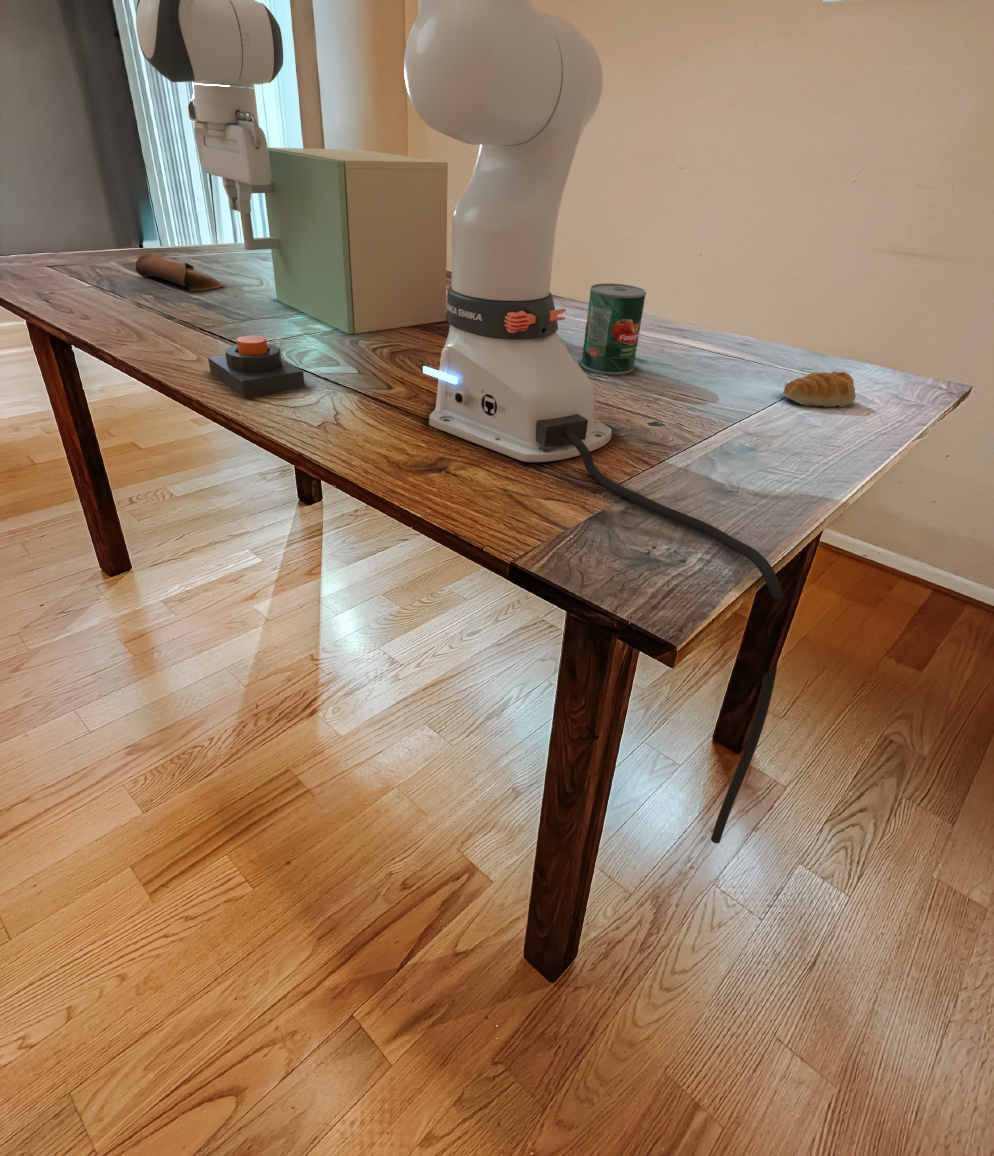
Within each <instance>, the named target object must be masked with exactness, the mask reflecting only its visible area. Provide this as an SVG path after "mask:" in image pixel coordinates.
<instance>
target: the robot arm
mask: <svg viewBox="0 0 994 1156" xmlns="http://www.w3.org/2000/svg"><path fill="white" fill-rule="evenodd" d="M416 16H417V17H416V19H415V20H414V22H413V24H412V26H411V29H410V31H409V33H408V34H409V35H408V36H407V40H406V44H405V49H404V58H403V73H404V74H403V75H404V81H405V87H406V91H407V94H408V97H409V100H410V102H411V106H412V107H413V109H414V111H415V112H416V114H417V115H418V116H419V118H420V119H421V120H422V121H423V122H424V123H425V124H426V125H427V126H428V127H430V128H431V129H432V130H434V131H437V132H439V134H442V135H445V136H446V137H449V138H452V139H454V140H456V141H458V142H461V143H463V144H468V145H472V146H475V145H476V146H477V145H479V151H478V155H477V158H476V163H475V165H474V169H473V172H472V175H471V177H470V181H469V183H468V185H467V187H466V188H465V190H464V192H463V193H462V194H461V196H460V197H459V199H458V201H457V202H456V204H455V207H454V209H453V214H452V228H451V229H452V230H451V231H452V232H451V233H452V234H451V281H450V282H451V283H450V284H451V285H450V286H448V289H447V294H446V321H447V323H448V324H449V329H448V334H447V336H446V337H447V338H446V340H445V344H444V346H443V347H442V350H441V354H440V362H439V370H437V369H434V368H432V367H429V366H426V365H424V366H422V373H423V374H426V375H428V376H430V377H433V378H436V379H438V380H437V388H436V389H437V390H436V399H435V401H436V402H435V408H434V410H432V412H431V413H430V414H429V416H428V417H429V419H428V425H429V427H432V428H434V429H437V430H439V431H441V432H442V431H443V432H445V433H448V434H450V435H452V436H455V437H458V438H460V439H463V440H466V441H468V442H471V443H473V444H475V445H476V444H477V445H479V446H481V447H484V448H486V449H489V450H492V451H494V452H496V453H499V454H502V455H505V456H507V457H510V458H512V459H516V460H517V461H521V462H523V463H524V462H525V463H547V462H554V461H556V462H557V461H561V460H566V459H570V458H574V457H577V456H578V457H579V456H581V459H582V461H583V464H584V467H585V469H586V470H587V472H588V473H589V474H590V476H591V477H592V478H593V479H594V481H595V482H597V483H598V484H599V485H600V486H602V487H603V488H605V489H606V490H608V491H609V492H611V493H613V494H614V495H617V496H619V497H621V498H624V499H626V500H628V501H630V502H633V503H635V504H637V505H638V506H641V507H643V508H644V509H647V510H648V511H651V512H652V513H655V514H657V515H659V516H662V517H663V518H666V519H669V520H672V521H673V522H676V523H678V524H681V525H683V526H686V527H689V528H691V529H693V530H695V531H698V532H700V533H702V534H704V535H706V536H708V537H709V538H712V539H714V540H715V541H716V542H718V543H720V544H722V546H725V547H727V548H728V549H730V550H732V551H734V552H736V553H738V554H739V555H741V556H743V557H745V558H746V559H748V560H749V561H751V563H752V564H754V565H755V566H756V568H757V570H758V571H759V572H760V574H761V576H762V578H763V580H764V582H765V584H766V587H767V589H768V592H769V595H770V596H771V597H772V598H774V599H775V600H779V601H781V600H784V593H783V589H782V586H781V584H780V581H779V579H778V577H777V575H776V573H775V570H774V569H773V567H772V566H771V564H770V563H769V561H768V560H767V559H766V558H765V557H764V556H763V555H762V554H761V553H760V552H759V551H757V550H756V549H755V548H753V546H752V547H751V546H750V545H748V544H746V543H744V542H742V541H740V540H738V539H737V538H735V537H733V536H731V535H729V534H728V533H726V532H725V531H722V530H721V529H720V528H718V527H715V526H713V525H712V524H709V523H707V522H706V521H703V520H701V519H699V518H696V517H693V516H691V515H688V514H686V513H684V512H681V511H678V510H675V509H673V508H670V507H668V506H666V505H663V504H661V503H659V502H657V501H654V500H653V499H650V498H648V497H646V496H644V495H642V494H641V493H638V492H636V491H633V490H632V489H629V488H627V487H624V486H622V485H619V484H617V483H616V482H614V481H612V480H610V479H609V478H607V477H606V476H605V475H604V474H603V472H601V471H600V470H599V469H598V468H597V466H596V464H595V462H594V460H593V457H592V456H593V455H592V454H591V452H593V451H596V450H598V449H600V448H601V447H604V446H606V444H608V443H609V442H610V441H611V439H612V435H613V434H612V431H613V429H612V428H610V427H609V426H608V425H607V424H605V423H603V422H602V421H600V420H598V419H597V418H595V390H594V385H593V383H592V381H591V379H590V378H589V377H588V375H587V374H586V372H585V371H584V370H583V368H582V366H581V365H580V364H579V363H578V362H577V360H576V359H575V357H574V356H573V354H572V353H571V351H570V350H569V349H568V347H567V346H566V344H565V343H564V341H563V340H562V338H561V337H560V336H559V334H558V330H559V325H558V322H559V321H563V320H564V321H565V320H566V317H565V316H558V315H562V314H564V313H566V312H567V309H566V308H559V309H556V308H555V307H556V306H555V301H554V297H553V294H552V292H551V280H552V272H553V271H552V269H553V259H554V252H555V251H554V249H555V241H556V232H557V224H558V219H559V212H560V208H561V203H562V200H563V195H564V192H565V188H566V185H567V181H568V178H569V175H570V171H571V168H572V166H573V165H572V164H573V161H574V159H575V155H576V152H577V148H578V145H579V142H580V140H581V137H582V134H583V132H584V130H585V128H586V127H587V125H588V124H589V122H590V121H591V119H592V118H593V116H594V115H595V113H596V111H597V109H598V106H599V104H600V101H601V96H602V92H603V85H604V84H603V81H604V79H603V76H604V75H603V69H602V63H601V60H600V57H599V55H598V52H597V50H596V48H595V47H594V45H593V44H592V42H591V41H589V39H588V38H587V37H586V36H585V35H584V34H583V33H582V32H581V31H580V30H579V29H578V28H577V27H576V26H575V25H574V24H573V23H571V22H570V21H569V20H567V19H565V18H563V17H561V16H557V15H554V14H550V13H547V12H544V11H540V10H537V9H535V7H534V6H533V4H532V2H531V1H530V0H417V15H416ZM135 28H136V29H135V30H136V36H137V40H138V44H139V48H140V51H141V54H142V55H143V57H144V59H145V60H146V61H147V62H148V63H149V64H150V65H151V66H152V68H154V69H155V70H156V71H157V72H158V73H159V74H160V75H161V76H163V77H164V78H165V79H166V80H168V81H169V82H170V83H192V91H193V94H192V97H191V99H190V100H189V101H188V104H187V106H186V109H187V115H188V118H189V120H190V121H193V132H194V133H193V134H194V139H195V145H196V150H197V154H198V159H199V162H200V165H201V168H202V170H203V171H204V173H205V174H208V175H211V176H215V177H218V178H221V181H222V186H223V188H224V191H225V194H226V196H227V199H228V204H229V205H228V206H229V209H230V210H232V211H235V212H239V213H240V212H241V213H252V205H251V199H252V194H253V193H252V185H269V184H270V183H271V179H272V171H271V164H270V158H269V152H268V148H269V147H268V142H267V137H266V135H265V132H264V130H263V129H262V128H261V127H260V124H259V114H258V109H257V108H258V106H257V99H256V89H255V85H259V86H260V85H264V84H271V83H272V82H273V81H274V80H275V79H276V78H277V76H278V75H279V73H280V71H281V70H282V68H283V66H284V45H283V44H284V43H283V37H282V36H283V35H282V30H281V26H280V25H279V23H278V21H277V19H276V18H275V16H274V14H273V13H272V12H271V10H270V9H269V8H268V7H267V6H266V5H265V4H264V3H263V2H259V1H257V0H137V3H136V8H135ZM237 189H238V192H237ZM777 670H778V666H776V667H774V668H773V669H771V670H770V671H769V672H766V674H765V675H763V677H762V682H761V688H760V692H759V697H758V701H757V705H756V709H755V713H754V716H753V720H752V724H751V727H750V730H749V733H748V737H747V739H746V742H745V745H744V748H743V750H742V754H741V756H740V759H739V762H738V763H737V766H736V769H735V772H734V774H733V777H732V779H731V782H730V784H729V786H728V789H727V791H726V795H725V797H724V798H723V802H722V805H721V807H720V810H719V813H718V816H717V818H716V821H715V823H714V827H713V830H712V834H711V837H710V841H711V842H712V843H714V844H720V842H721V840H722V837H723V834H724V830H725V828H726V824H727V822H728V819H729V817H730V814H731V812H732V810H733V807H734V805H735V801H736V799H737V796H738V794H739V791H740V789H741V788H742V784H743V783H744V778H745V777H746V774H747V773H748V769H749V767H750V765H751V762H752V759H753V757H754V754H755V753H756V748H757V746H758V743H759V740H760V737H761V735H762V732H763V729H764V726H765V722H766V718H767V716H768V712H769V708H770V704H771V701H772V695H773V691H774V686H775V681H776V678H777Z"/></svg>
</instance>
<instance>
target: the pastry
mask: <svg viewBox="0 0 994 1156" xmlns="http://www.w3.org/2000/svg"><path fill="white" fill-rule="evenodd" d="M781 395H782V396H784V397H785V398H787V399H789V400H791V401H792V402H793V401H794V402H795V403H798V404H800V405H801V406H806V407H809V406H814V407H827V408H831V407H833V408H835V407H836V406H839V407H841V408H843V407H847V406H850V404H851V403H853V402H854V401H856V397H857V394H856V387H855V385H854V378H853V377H852V375H851V374H849V373H847V372H845V371H836V370H833V371H832V372H826V371H822V372H811V373H808V374H807V375H805V376H803V377H798V378H795V379H793V380H791V381H789V382H788V383H786V384H785V385H784V389H783V391H782V394H781Z"/></svg>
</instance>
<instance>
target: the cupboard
mask: <svg viewBox="0 0 994 1156" xmlns="http://www.w3.org/2000/svg"><path fill="white" fill-rule="evenodd" d="M268 149H271V150H277V151H283V152H289V153H295V154H301V155H306V156H312V157H318V158H324V159H330V160H336V161H342V162H344V178H345V195H346V212H347V229H348V246H349V263H350V280H351V297H352V314H353V331H354V333H353V334H360V333H368V332H376V331H381V330H382V331H383V330H390V329H397V328H403V327H411V326H417V325H425V324H432V323H439V322H446V321H447V308H446V300H447V249H448V248H447V247H448V246H447V244H448V241H447V240H448V178H449V177H448V176H449V175H448V171H449V162H447V161H442V160H435V159H427V158H421V157H420V158H419V157H414V156H407V155H398V154H392V153H386V152H378V151H371V150H365V149H344V148H343V149H340V148H338V149H337V148H301V147H297V148H296V147H268Z"/></svg>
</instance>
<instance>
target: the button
mask: <svg viewBox="0 0 994 1156" xmlns="http://www.w3.org/2000/svg"><path fill="white" fill-rule="evenodd" d="M267 344H268V341H267V338H266V336H262V335H255V334H254V335H243V336H239V337H237V338H236V345H237V347H238V353H239V354H244V355H259V354H265V353H267V352H268V348H267Z"/></svg>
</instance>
